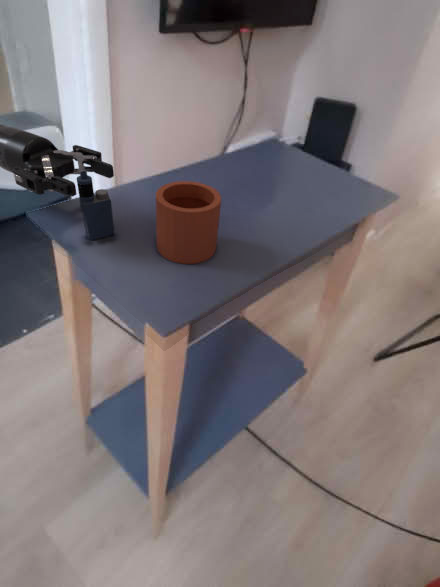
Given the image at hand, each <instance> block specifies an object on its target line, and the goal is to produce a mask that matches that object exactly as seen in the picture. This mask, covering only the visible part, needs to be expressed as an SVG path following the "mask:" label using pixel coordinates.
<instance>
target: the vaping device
mask: <svg viewBox="0 0 440 587" xmlns="http://www.w3.org/2000/svg"><path fill="white" fill-rule="evenodd" d="M76 183H77V184H76V185H77V190H78V198H79V205H80V208H79V209H80V211H81V213H82V218H83V224H84V229H85V231H84V232H85V235H86V238H87V239H88V240H90V241H95V240H99V239H102V238H106V237H111V236H112V235H113V233H114V229H115V226H114V215H113V206H112V205H113V204H112V200H111V198H110V195H109V192H108V190H107V189H103V188H100V189H97V190H95V192H94V185H93V184H94V183H93V177H92V176H91V175H88V172H85V171H82V172H80V174H79V175H77V177H76Z"/></svg>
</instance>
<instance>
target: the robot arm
mask: <svg viewBox="0 0 440 587" xmlns="http://www.w3.org/2000/svg"><path fill="white" fill-rule="evenodd" d="M102 156H103V155H102V152H101V151H97V150H94V149H91V148H88V147H85V146H81V145H79V144H74V145H72V150H71V151H66V150H62V149H58V147H56V145H55V144H54V143H53V142H52V140H50V139H48V138H46V137H43V136H41V135H38V134H36V133H33V132H30V131H26V130H24V129H21V128H17V127H13V126H9V125H5V124H2V123H0V168H1V169H3V170H5V171H7V172H9V173H12V174H13V177H14V180H15V184H16V185H18V186H20V187H22V188H24V189H25V190H27V191H30V192H32V193H34V194H36V195H44V194H45V191H48V192H51V193H52V192H57V193H60V194H61V195H64V196H69V197H71V198H72V197H74V196H76V195H77V186H76V184H75V182H74V181H72V180H69V179H67V178H64V177H67V176H68V175H69V176H70V175H80V172H82V171H85V172H87V173H94V174H97V175H100V176H102V177H105V178H106V179H112V178H114V177H115V174H114V172H115V171H114V166H113V164H112V163H108V162H105V161H103V159H102V158H103V157H102ZM75 161H76V162H77V165H78V167H77V168H76V167H75ZM85 165H88V166H85Z"/></svg>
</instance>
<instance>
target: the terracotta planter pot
mask: <svg viewBox="0 0 440 587" xmlns="http://www.w3.org/2000/svg"><path fill="white" fill-rule="evenodd" d="M221 206H222V196H221V194H220V192H219V191H218V190H217V189H215V188H214V187H212V186H210V185H208V184H204V183H203V182H197V181H192V180H191V181H189V180H187V181H186V180H182V181H181V180H179V181H173V182H172V181H171V182H169V183H166V184H164V185H162V186H160V187H159V188H158V189H157V190H156V192H155V216H156V217H155V224H156V226H155V228H156V233H155V234H156V249H157V252H158V253H159V254H160V255H161V256H162V258H165V259H166V260H168V261H171V262H173V263H176V264H181V265H182V264H183V265H194V264H195V265H196V264H199V263H203V262H206V261H208V260H209V259H211V258H212V257H213V256H214V255H215V253H216V250H217V245H218V236H219V235H218V234H219V226H220V215H221Z"/></svg>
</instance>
